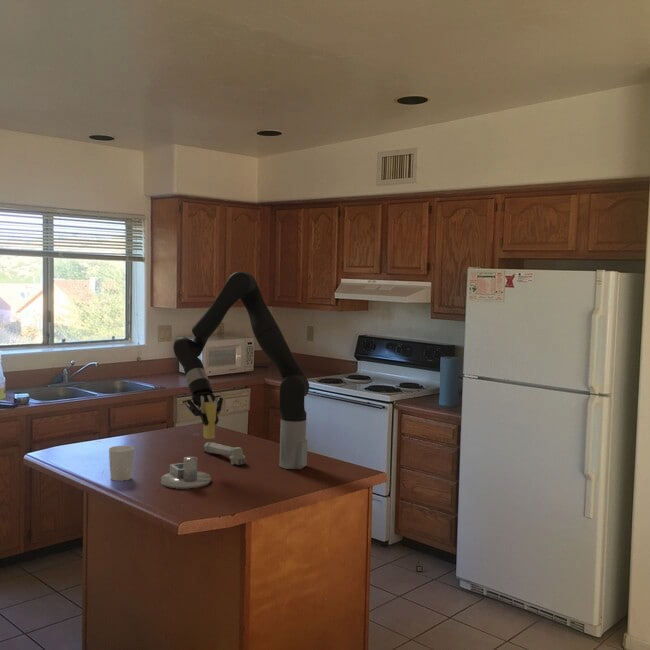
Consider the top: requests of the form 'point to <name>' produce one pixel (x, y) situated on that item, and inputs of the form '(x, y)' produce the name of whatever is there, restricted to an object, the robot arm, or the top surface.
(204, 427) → the yellow block
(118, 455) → the white cup
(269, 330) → the robot arm
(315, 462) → the top surface
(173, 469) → the round grey holder stand
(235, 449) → the white long round-headed device
